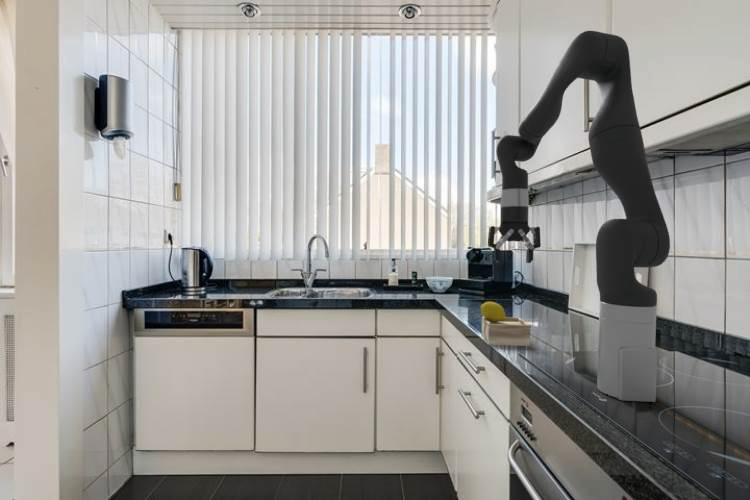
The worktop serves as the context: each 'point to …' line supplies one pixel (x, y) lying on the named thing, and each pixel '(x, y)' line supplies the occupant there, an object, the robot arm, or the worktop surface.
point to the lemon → (493, 311)
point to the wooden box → (506, 332)
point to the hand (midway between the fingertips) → (513, 262)
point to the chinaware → (439, 283)
